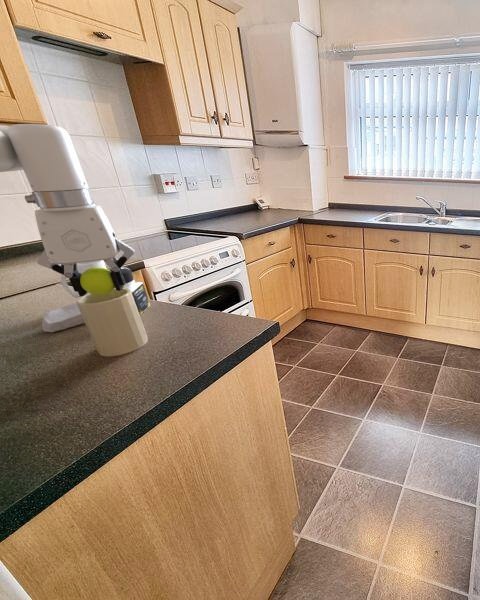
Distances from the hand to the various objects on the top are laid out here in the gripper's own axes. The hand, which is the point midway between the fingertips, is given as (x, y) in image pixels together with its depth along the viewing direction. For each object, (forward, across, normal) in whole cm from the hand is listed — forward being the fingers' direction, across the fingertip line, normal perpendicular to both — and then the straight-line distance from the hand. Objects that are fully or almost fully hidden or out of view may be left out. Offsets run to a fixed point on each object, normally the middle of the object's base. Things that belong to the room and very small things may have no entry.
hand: (102, 290), depth 69 cm
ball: (-2, 0, 0) cm, 2 cm away
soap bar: (+13, -14, +19) cm, 27 cm away
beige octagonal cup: (+13, 0, 0) cm, 13 cm away
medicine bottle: (+13, -2, +20) cm, 24 cm away
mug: (+13, -12, +32) cm, 37 cm away
